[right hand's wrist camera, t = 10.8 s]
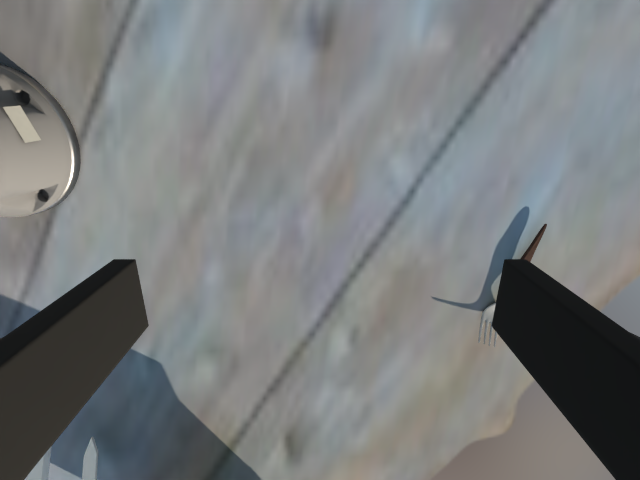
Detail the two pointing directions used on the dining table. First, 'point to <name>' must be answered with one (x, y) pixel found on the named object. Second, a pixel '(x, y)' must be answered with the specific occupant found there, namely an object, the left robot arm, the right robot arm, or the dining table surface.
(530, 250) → the fork
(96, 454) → the white plastic object
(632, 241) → the dining table surface
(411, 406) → the dining table surface
